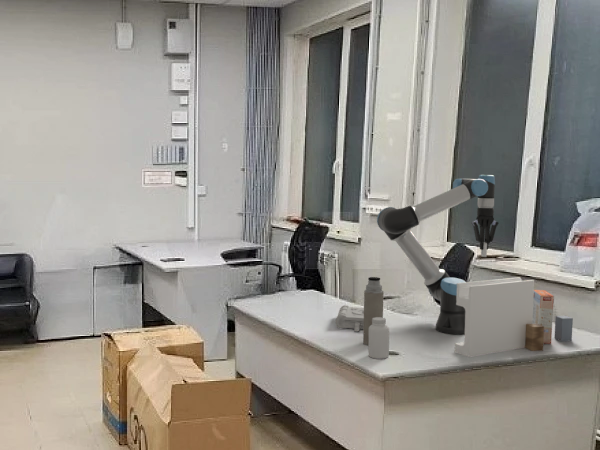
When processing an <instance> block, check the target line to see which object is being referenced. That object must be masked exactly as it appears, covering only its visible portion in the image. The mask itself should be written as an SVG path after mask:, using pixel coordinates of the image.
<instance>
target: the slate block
mask: <svg viewBox="0 0 600 450" xmlns="http://www.w3.org/2000/svg"><path fill="white" fill-rule="evenodd" d="M554 318H555V320H554V321H555V322H554V339H555V340H557V341H560V342H572V341H573V339H572V338H573V323H574V322H573V317H570V316H567V315H555V317H554Z"/></svg>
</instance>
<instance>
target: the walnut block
mask: <svg viewBox="0 0 600 450" xmlns="http://www.w3.org/2000/svg"><path fill="white" fill-rule="evenodd" d="M543 340H544V326H542V325H539V324H526V340H525V349H526V350H529V351H531V352H543V351H544V343H543Z"/></svg>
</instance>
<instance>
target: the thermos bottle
mask: <svg viewBox="0 0 600 450" xmlns="http://www.w3.org/2000/svg"><path fill="white" fill-rule="evenodd" d="M380 280H381V278H380V277H377V276H371V277H368V281H367V283H368V284H366V285H365V289H364V292H363V293H364V294H363V295H364V297H363V299H364V300H363V308H364V328H363V329H362V330H363V333H362V335H363V337H362V339H363V340H362V342H363V345H365V346H368V347H369V327H370V326H371V325H373V324H372V318H375V317H382V318H384V295H385V294H384V293H385V292H384V290H383V285H381V281H380Z"/></svg>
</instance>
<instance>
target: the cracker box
mask: <svg viewBox="0 0 600 450" xmlns="http://www.w3.org/2000/svg"><path fill="white" fill-rule="evenodd" d="M554 301H555V296H554V295H553V294H551V293H550V292H548V291H547V290H545V289H534V297H533V320H532V324H539V325H542V326H544V340H543V345H544V344H548V345H551V344H552V336H553V319H554V317H553V316H554Z"/></svg>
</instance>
